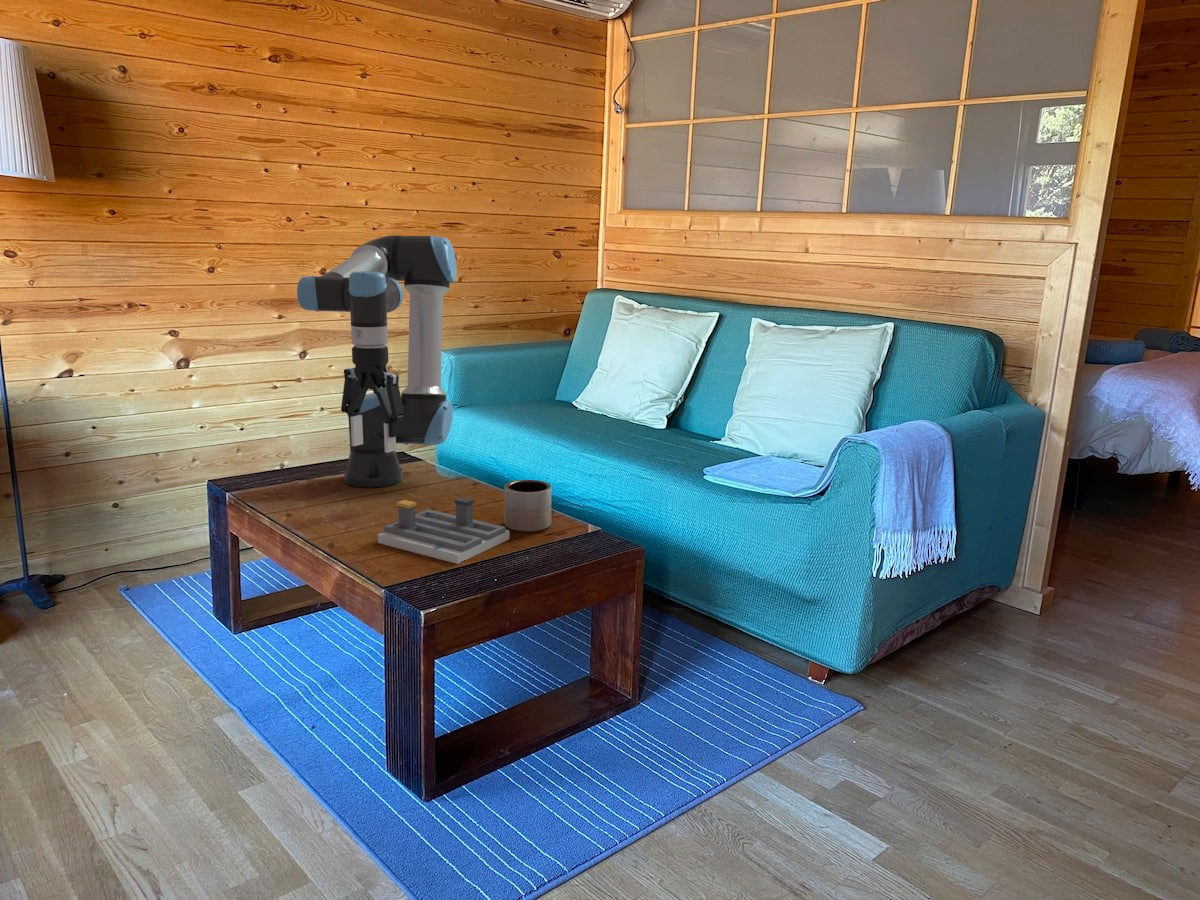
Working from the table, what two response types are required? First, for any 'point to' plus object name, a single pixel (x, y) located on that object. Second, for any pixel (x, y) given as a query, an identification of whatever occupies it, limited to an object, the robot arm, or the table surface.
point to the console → (443, 537)
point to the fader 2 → (464, 512)
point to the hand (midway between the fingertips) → (373, 448)
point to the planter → (527, 505)
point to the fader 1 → (407, 515)
